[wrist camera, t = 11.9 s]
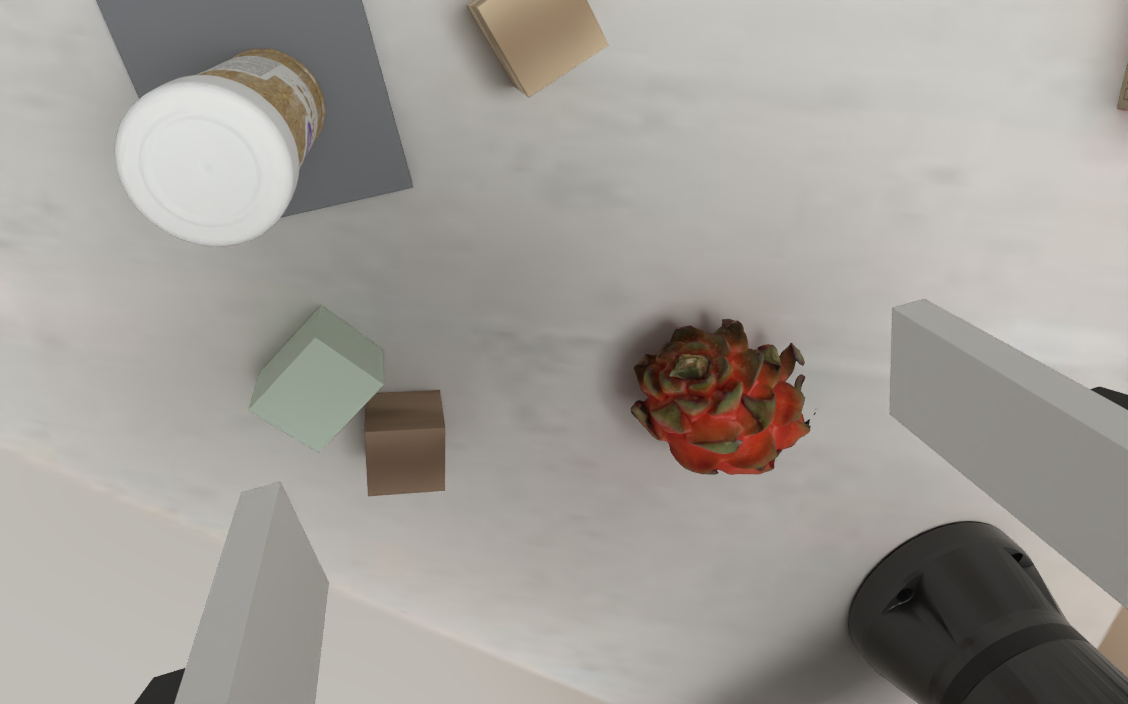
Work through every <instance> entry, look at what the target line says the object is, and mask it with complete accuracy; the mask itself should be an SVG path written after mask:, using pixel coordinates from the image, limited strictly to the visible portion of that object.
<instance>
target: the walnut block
mask: <svg viewBox="0 0 1128 704" xmlns="http://www.w3.org/2000/svg"><path fill="white" fill-rule="evenodd" d="M365 447H366V466H367V485H368V496H378V495H392V494H406V493H419V492H433V491H445V423H444V416H443V409H442V401H441V394H440V390H434V391H410V392H386V393H376V394H375V395H374V396H373V397H372V398H371V399H370V400H369V401H368V402H367V403H366V413H365Z"/></svg>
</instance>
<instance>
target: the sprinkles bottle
mask: <svg viewBox="0 0 1128 704" xmlns="http://www.w3.org/2000/svg"><path fill="white" fill-rule="evenodd" d="M325 113H326V112H325V102H324V98H323V94H322V91H321V89H320V87H319V85H318V82H317V81H316V79H315V77H314V76H313V75H312V73H311V72H310V71H309V70H308V69H307V68H306V67H305V66H304V65H303V64H302V63H300V62H299V61H297V60H296V59H295V58H293V57H291V56H289V55H287V54H285V53H282V52H279V51H277V50H274V49H251V50H247V51H243V52H241V53H239V54H238V55H236V56H234V57H233V58H231V59H230V60H228V61H225V62H223V63H221V64H219V65H217V66H214V67H212V68H210V69H208V70H206V71H204V72H201V73H199V74H197V75H192V76H186V77H181V78H177V79H175V80H172V81H170V82H167V83H165V84H163V85H161V86H159V87H157V88H155V89H153V90H152V91H150V92H148V93H147V94H145V95H143V96H142V97H141V98H140V99H139V100H137V101H136V102H135V103H134V104H133V105H132V107H131V108H130V109H129V110H128V112H127V113H126V115H125V116H124V118H123V119H122V122H121V124H120V126H119V129H118V132H117V137H116V142H115V161H116V167H117V171H118V174H119V177H120V180H121V183H122V185H123V187H124V189H125V191H126V193H127V195H128V196H129V198H130V199H131V201H132V202H133V204H134V205H135V206H136V207H137V209H138V210H139V211H140V212H141V213H142V214H143V215H144V216H145V217H146V218H147V219H148V220H149V221H151V222H152V223H153V224H155V225H156V226H157V227H159V228H160V229H162V230H163V231H165V232H167V233H169V234H171V235H172V236H174V237H177V238H179V239H182V240H185V241H187V242H191V243H195V244H199V245H206V246H230V245H236V244H240V243H244V242H247V241H250V240H252V239H254V238H256V237H258V236H260V235H262V234H263V233H265V232H266V231H268V230H269V229H270V228H271V227H272V226H273V225H274V224H275V223H276V222H277V221H278V220H279V219H280V217H281V216H282V215H283V213H284V212H285V210H286V208H287V207H288V205H289V203H290V201H291V199H292V197H293V194H294V192H295V189H296V186H297V182H298V177H299V169H300V167H301V165H302V163H303V161H304V159H305V157H306V155H307V154H308V152H309V150H310V148H311V146H312V144H313V142H314V141H315V140H316V139H317V137H318V135H319V134H320V132H321V130H322V128H323V125H324V118H325Z"/></svg>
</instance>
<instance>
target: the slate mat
mask: <svg viewBox="0 0 1128 704" xmlns="http://www.w3.org/2000/svg"><path fill="white" fill-rule="evenodd" d="M96 1H97V3H98V5H99V8H100V10H101V12H102V14H103V17H104V19H105V21H106V24H107V26H108V28H109V30H110V33H111V35H112V37H113V40H114V42H115V44H116V46H117V49H118V51H119V53H120V55H121V58H122V60H123V62H124V65H125V67H126V69H127V71H128V74H129V76H130V78H131V80H132V83H133V85H134V87H135V90H136V92H137V94H138V96H139V99H140V98H141V97H142V96H143V95H145V94H147V93H148V92H150V91H152V90H153V89H155V88H157V87H159V86H161V85H163V84H165V83H167V82H170V81H172V80H175V79H177V78H181V77H186V76H192V75H197V74H199V73H201V72H204V71H206V70H208V69H210V68H212V67H214V66H217V65H219V64H221V63H223V62H225V61H228V60H230V59H231V58H233V57H234V56H236V55H238V54H239V53H241V52H243V51H247V50H251V49H274V50H277V51H279V52H282V53H285V54H287V55H289V56H291V57H293V58H295V59H296V60H297V61H299V62H300V63H302V64H303V65H304V66H305V67H306V68H307V69H308V70H309V71H310V72H311V73H312V75H313V76H314V77H315V79H316V81H317V82H318V85H319V87H320V89H321V91H322V94H323V98H324V102H325V112H326V113H325V118H324V125H323V128H322V130H321V132H320V134H319V135H318V137H317V139H316V140H315V141H314V142H313V144H312V146H311V148H310V150H309V152H308V154H307V155H306V157H305V159H304V161H303V163H302V165H301V167H300V169H299V177H298V182H297V186H296V189H295V192H294V194H293V197H292V199H291V201H290V203H289V205H288V207H287V208H286V210H285V212H284V213H283V215H282V216H281V217H285V216H289V215H294V214H298V213H303V212H307V211H311V210H316V209H320V208H325V207H329V206H334V205H338V204H342V203H347V202H351V201H356V200H360V199H364V198H369V197H373V196H378V195H382V194H386V193H391V192H395V191H400V190H404V189H409V188H413V185H412V181H411V177H410V174H409V170H408V167H407V163H406V159H405V156H404V152H403V148H402V145H401V141H400V137H399V134H398V130H397V127H396V123H395V119H394V116H393V112H392V108H391V105H390V101H389V98H388V94H387V90H386V87H385V83H384V79H383V76H382V72H381V68H380V65H379V61H378V58H377V54H376V50H375V47H374V43H373V39H372V36H371V32H370V28H369V25H368V21H367V18H366V14H365V10H364V7H363V3H362V0H96ZM281 217H280V218H281Z"/></svg>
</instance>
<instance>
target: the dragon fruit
mask: <svg viewBox="0 0 1128 704" xmlns="http://www.w3.org/2000/svg"><path fill="white" fill-rule="evenodd" d="M796 361H797V362H798V363H799V364H800V365H802V366H803V365H804V363H805V362H804V359H803V356H802V354H801V353H800V351H799V350H798V349H797V348H796V347H795V346H794V345H793V344H792V343H790V345H789V346H788V347H787V348H786V349H785V350H784V351H783V352H782V353H781V355H780V356H778V353H777V349H776V347H775V346H774V345H762V346H760V347H758V349H756V350H753V349H749V348H748V340H747V336H746V334H745V332H744V328H743V325H742V324H741V323H740V322H739V321H734V320H731V319H722V326H721V327H720V328H719V329H718V330H717V331H716V332H715V333H714V334H707V333H705V332H704V331H702V330H699V329H696V328H694V327H692V326H686V327H681V328H678V329H676V330H675V331H674V333H673V336H672V339H671V340H670V342H668V343H666V344H665V345H664V346H663V347H662V348H661V349H660V351H659V352H658V355H649V354H645V356H644V357H643V358H642V359H640V361H639V362H638V364H637V365H636V366H634V370H635V373H636V375H637V379H638V382H639V385H640V388H641V390H642V391H643V392H644V393H645V394H647V396H648V399H646V400H645V401H644V402H643V401H640V400H638V401H636V402H635V404H634V405H633V406H632V408H631V413H632V414H633V415H634V416H635V417H636V418H637V419H638V420H639V422H640V423H641V424H642V425H643V426H644V427H645V428H646V429H647V430H648V432H649V433H650V434H651V435H652V436H653V437H655V438H656V439H657V440H661V441H667V442H668V443H669V446H670V451H671V453H672V455H673V456H674V457H675V459H676V460H677V461H678V462H679V463H680V464H681V465H682V466H683V467H684V468H686V469H688V470H690V471H692V472H695V473H699V474H718V472H717V470H721V471H724V472H725V473H727V474H731V475H733V474H762V473H764V472H767V471H770V470H773V469H774V461H775V458H776V457H777V456H778V455H779V453H780V452H781V451H782V450H783V449H786V448H789V447H792V446H793V445H794V444H795V443H796V442H797V440H798V439H799V438H801V437H802V436H804V435H806V434H807V433H809V432H810V427H811V426H809V421H810V419H809V420H808V421H806V422H805V421H804V418H803V415H802V413H801V412H802V408H803V405H804V401H805V397H804V396H803V393H802V392H801V387H802V384H803V382H804V380H805V376H804V375H802V374H801V375H799V376H798V377H797V379H796V381H795V387H794V386H792V385H790V384H789V383H786V382H785V381H786V380H787V379H788V378H789V376H790V375H791V374H792V372H793V370H794V367H795V363H796ZM814 414H815V413H814ZM814 414H813V415H814Z"/></svg>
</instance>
